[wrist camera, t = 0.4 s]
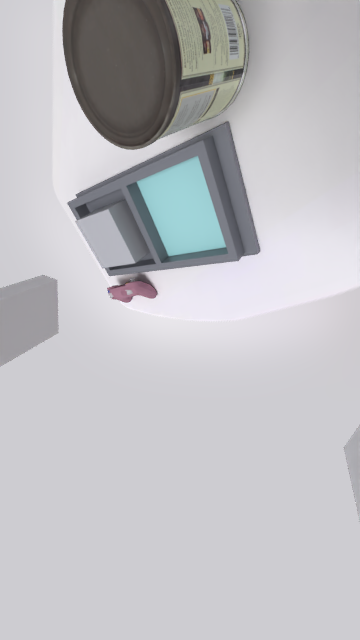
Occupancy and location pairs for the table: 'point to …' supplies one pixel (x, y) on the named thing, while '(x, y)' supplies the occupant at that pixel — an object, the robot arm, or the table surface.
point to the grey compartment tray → (171, 210)
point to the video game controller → (131, 290)
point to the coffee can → (153, 64)
